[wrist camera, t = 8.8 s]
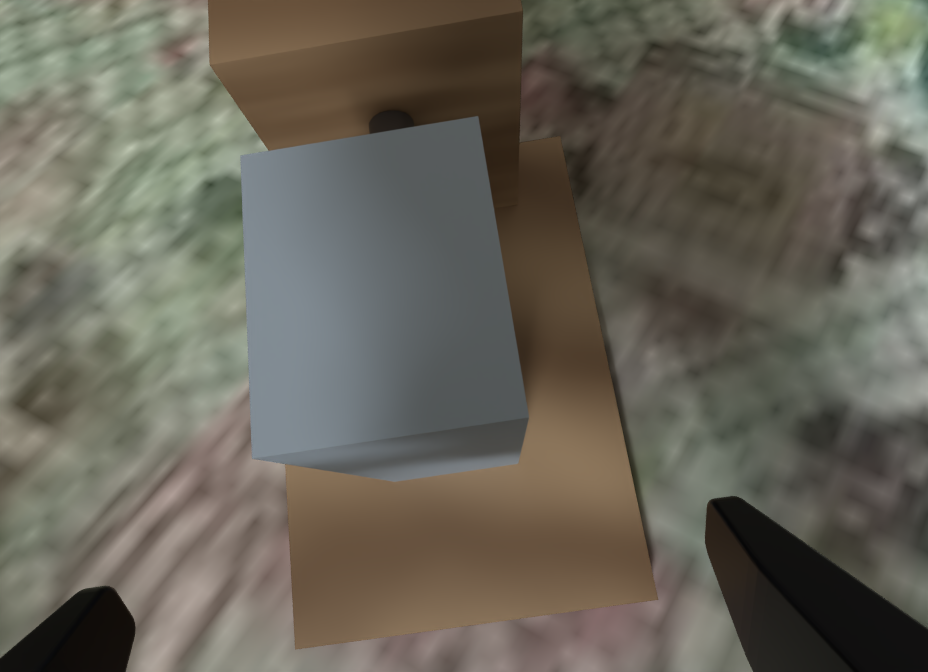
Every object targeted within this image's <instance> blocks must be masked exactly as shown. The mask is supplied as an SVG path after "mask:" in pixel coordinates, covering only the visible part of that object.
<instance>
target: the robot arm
mask: <svg viewBox="0 0 928 672" xmlns="http://www.w3.org/2000/svg"><path fill="white" fill-rule="evenodd" d="M705 544H706V549H707V553H708V556H709V559H710V561H711V564H712V567H713V569H714V572H715V575H716V577H717V580H718V583H719V586H720V588H721V591H722V594H723V596H724V599H725V602H726V604H727V607H728V610H729V612H730V615H731V618H732V620H733V623H734V626H735V628H736V631H737V634H738V637H739V639H740V642H741V644H742V647H743V649H744V652H745V655H746V657H747V659H748V661H749V664H750V666H751V668H752V670H753V672H928V628H926V627H925V626H923V625H922V624H920V623H919V622H918V621H916V620H915V619H913V618H912V617H910V616H909V615H908V614H906V613H905V612H903V611H902V610H900V609H899V608H898V607H896V606H895V605H893V604H892V603H890V602H889V601H888V600H886V599H885V598H883V597H882V596H880V595H879V594H877V593H876V592H875V591H873V590H872V589H870V588H869V587H867V586H866V585H865V584H863V583H862V582H860V581H859V580H857V579H856V578H855V577H853V576H852V575H850V574H849V573H847V572H846V571H845V570H843V569H842V568H840V567H839V566H837V565H836V564H835V563H833V562H832V561H830V560H829V559H827V558H826V557H825V556H823V555H822V554H820V553H819V552H817V551H816V550H815V549H813V548H812V547H810V546H809V545H807V544H806V543H805V542H803V541H802V540H800V539H799V538H797V537H796V536H795V535H793V534H792V533H790V532H789V531H787V530H786V529H785V528H783V527H782V526H780V525H779V524H777V523H776V522H775V521H773V520H772V519H770V518H769V517H767V516H766V515H765V514H763V513H762V512H760V511H759V510H757V509H756V508H755V507H753V506H752V505H750V504H749V503H747V502H746V501H745V500H743V499H741V498H739V497H737V496H730V497H723V498H716V499H712V500H710V501H709V502H708V505H707V514H706V531H705ZM134 637H135V622H134V618H133V616H132V615H131V613H130V612H129V610H128V609H127V607H126V606H125V604H124V602H123V601H122V599H121V598H120V596H119V595H118V593H117V592H116V590H115V589H114V588H112V587H110V586H100V587H93V588H87V589H83V590H81V591H79V592H78V593H76V594H75V595H74V596H73V597H71V598H70V599H69V600H68V601H67V602H66V603H64V604H63V605H62V606H61V607H60V608H59V609H57V610H56V611H55V612H54V613H53V614H52V615H50V616H49V617H48V618H47V619H46V620H45V621H43V622H42V623H41V624H40V625H39V626H38V627H36V628H35V629H34V630H33V631H32V632H31V633H29V634H28V635H27V636H26V637H25V638H24V639H22V640H21V641H20V642H19V643H18V644H17V645H15V646H14V647H13V648H12V649H11V650H9V651H8V652H7V653H6V654H5V655H4V656H2V657H1V658H0V672H126V668H127V664H128V660H129V657H130V653H131V649H132V645H133V641H134Z"/></svg>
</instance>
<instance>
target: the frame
mask: <svg viewBox="0 0 928 672" xmlns="http://www.w3.org/2000/svg"><path fill="white" fill-rule="evenodd" d="M208 15H209V58H210V66H211V67H212V69H213V70H214V72H215V73H216V75H217V76H218V78H219V79H220V81H221V82H222V83H223V85H224V86H225V88H226V89H227V91H228V92H229V94H230V95H231V97H232V98H233V99H234V101H235V102H236V104H237V105H238V107H239V108H240V110H241V111H242V112H243V114H244V115H245V117H246V118H247V120H248V121H249V123H250V124H251V126H252V127H253V128H254V130H255V131H256V133H257V134H258V136H259V137H260V139H261V140H262V142H263V143H264V144H265V146H266V147H267V149H268V150H269V151H271V150H277V149H283V148H289V147H295V146H301V145H307V144H313V143H319V142H325V141H331V140H337V139H343V138H349V137H355V136H361V135H367V134H373V133H379V132H385V131H391V130H397V129H403V128H409V127H415V126H421V125H427V124H433V123H439V122H445V121H451V120H457V119H463V118H469V117H475V116H478V118H479V124H480V130H481V136H482V141H483V147H484V153H485V159H486V165H487V171H488V177H489V183H490V189H491V195H492V201H493V207H494V213H495V218H496V224H497V230H498V236H499V242H500V248H501V254H502V260H503V266H504V272H505V278H506V284H507V290H508V296H509V301H510V307H511V313H512V319H513V325H514V331H515V337H516V343H517V349H518V355H519V361H520V367H521V373H522V378H523V384H524V390H525V396H526V402H527V408H528V414H529V420H528V424H527V429H526V433H525V437H524V441H523V445H522V450H521V454H520V458H519V462H518V464H513V465H506V466H500V467H493V468H486V469H479V470H472V471H465V472H458V473H452V474H445V475H438V476H431V477H424V478H417V479H410V480H404V481H397V482H393V481H387V480H381V479H375V478H368V477H362V476H356V475H350V474H344V473H338V472H331V471H325V470H319V469H313V468H307V467H300V466H294V465H288V464H285V468H286V487H287V505H288V524H289V542H290V561H291V579H292V598H293V617H294V635H295V649H302V648H309V647H317V646H324V645H331V644H339V643H346V642H353V641H360V640H368V639H375V638H382V637H390V636H397V635H404V634H412V633H419V632H426V631H433V630H441V629H448V628H455V627H463V626H470V625H477V624H484V623H492V622H499V621H506V620H514V619H521V618H528V617H535V616H543V615H550V614H557V613H565V612H572V611H579V610H586V609H594V608H601V607H608V606H616V605H623V604H630V603H637V602H645V601H652V600H658V597H657V592H656V587H655V582H654V578H653V573H652V568H651V564H650V559H649V554H648V549H647V545H646V540H645V535H644V530H643V526H642V521H641V516H640V511H639V507H638V502H637V497H636V493H635V488H634V483H633V478H632V474H631V469H630V464H629V459H628V455H627V450H626V445H625V440H624V436H623V431H622V426H621V422H620V417H619V412H618V407H617V403H616V398H615V393H614V388H613V384H612V379H611V374H610V370H609V365H608V360H607V355H606V351H605V346H604V341H603V336H602V332H601V327H600V322H599V317H598V313H597V308H596V303H595V299H594V294H593V289H592V284H591V280H590V275H589V270H588V265H587V261H586V256H585V251H584V247H583V242H582V237H581V232H580V228H579V223H578V218H577V213H576V209H575V204H574V199H573V194H572V190H571V185H570V180H569V176H568V171H567V166H566V161H565V157H564V152H563V147H562V142H561V138H560V136H557V137H551V138H545V139H539V140H533V141H527V142H521V143H519V136H520V99H521V63H522V26H523V9H522V4H521V0H208Z"/></svg>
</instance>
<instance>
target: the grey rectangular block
mask: <svg viewBox="0 0 928 672" xmlns="http://www.w3.org/2000/svg"><path fill="white" fill-rule="evenodd" d="M241 182H242V208H243V234H244V260H245V286H246V312H247V338H248V364H249V390H250V415H251V441H252V459H257V460H263V461H270V462H276V463H282V464H288V465H294V466H300V467H307V468H313V469H319V470H325V471H331V472H338V473H344V474H350V475H356V476H362V477H368V478H375V479H381V480H387V481H393V482H397V481H404V480H410V479H417V478H424V477H431V476H438V475H445V474H452V473H458V472H465V471H472V470H479V469H486V468H493V467H500V466H506V465H513V464H518V462H519V458H520V454H521V450H522V445H523V441H524V437H525V433H526V429H527V424H528V420H529V414H528V408H527V402H526V396H525V390H524V384H523V378H522V373H521V367H520V361H519V355H518V349H517V343H516V337H515V331H514V325H513V319H512V313H511V307H510V301H509V296H508V290H507V284H506V278H505V272H504V266H503V260H502V254H501V248H500V242H499V236H498V230H497V224H496V218H495V213H494V207H493V201H492V195H491V189H490V183H489V177H488V171H487V165H486V159H485V153H484V147H483V141H482V136H481V130H480V124H479V118H478V116H475V117H469V118H463V119H457V120H451V121H445V122H439V123H433V124H427V125H421V126H415V127H409V128H403V129H397V130H391V131H385V132H379V133H373V134H367V135H361V136H355V137H349V138H343V139H337V140H331V141H325V142H319V143H313V144H307V145H301V146H295V147H289V148H283V149H277V150H271V151H265V152H259V153H253V154H247V155H241Z"/></svg>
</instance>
